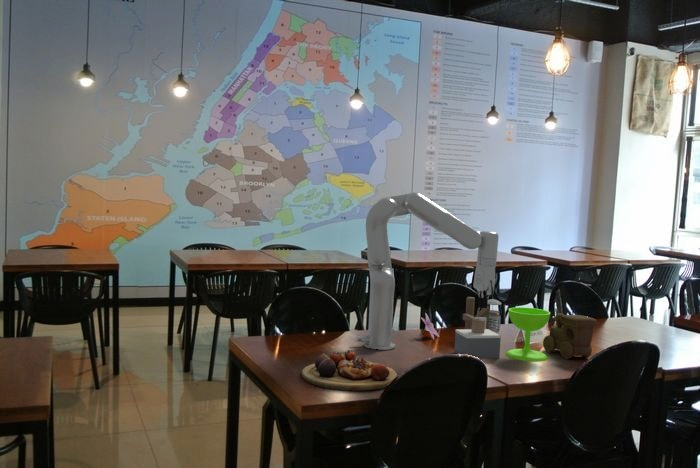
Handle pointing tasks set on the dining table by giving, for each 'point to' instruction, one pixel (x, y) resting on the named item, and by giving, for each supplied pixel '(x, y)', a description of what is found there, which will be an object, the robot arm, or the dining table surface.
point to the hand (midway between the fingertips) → (482, 307)
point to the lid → (478, 330)
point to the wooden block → (470, 310)
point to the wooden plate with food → (348, 373)
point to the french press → (494, 316)
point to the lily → (429, 327)
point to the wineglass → (528, 331)
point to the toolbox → (478, 345)
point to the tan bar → (468, 318)
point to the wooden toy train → (571, 336)
